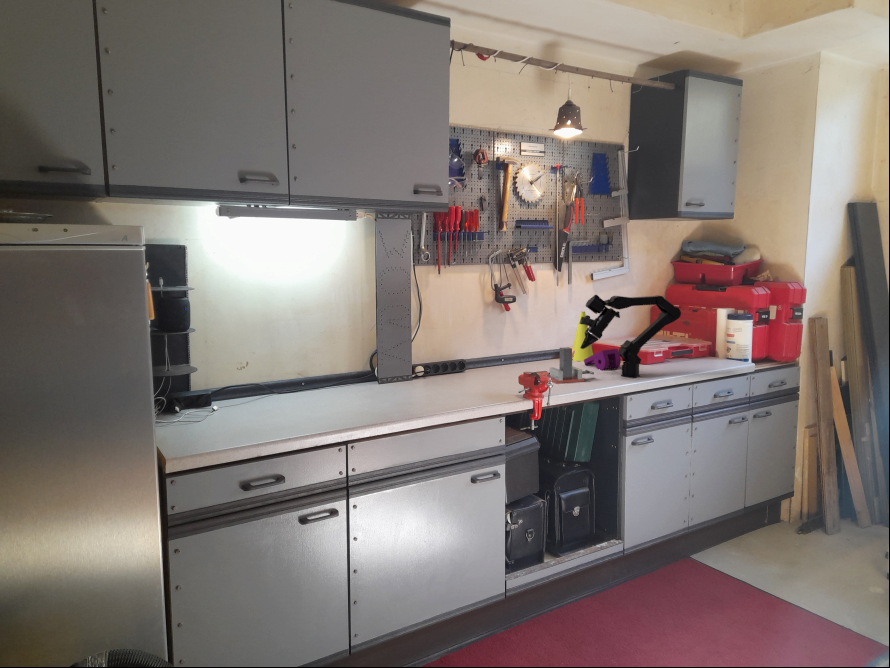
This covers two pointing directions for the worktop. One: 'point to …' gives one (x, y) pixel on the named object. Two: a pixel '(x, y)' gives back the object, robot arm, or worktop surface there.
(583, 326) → the cone
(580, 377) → the bench vise
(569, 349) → the steel bar
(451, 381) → the worktop surface
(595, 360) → the mounting bracket
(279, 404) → the worktop surface
